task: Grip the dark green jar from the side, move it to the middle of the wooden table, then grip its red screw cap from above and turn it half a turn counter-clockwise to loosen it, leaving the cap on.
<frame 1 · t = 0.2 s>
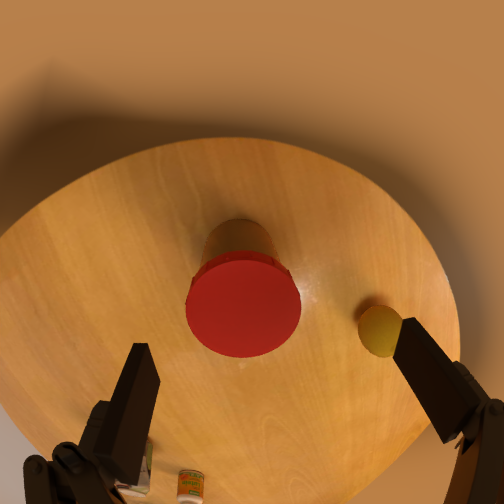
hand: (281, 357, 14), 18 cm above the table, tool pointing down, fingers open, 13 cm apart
jar: (239, 252, 31), on the table
cap: (243, 311, 20), point 12 cm above the table, screwed on, not yet turned
lemon: (368, 312, 35), on the table
beverage can: (139, 440, 42), on the table
supplement bottle: (191, 473, 48), on the table
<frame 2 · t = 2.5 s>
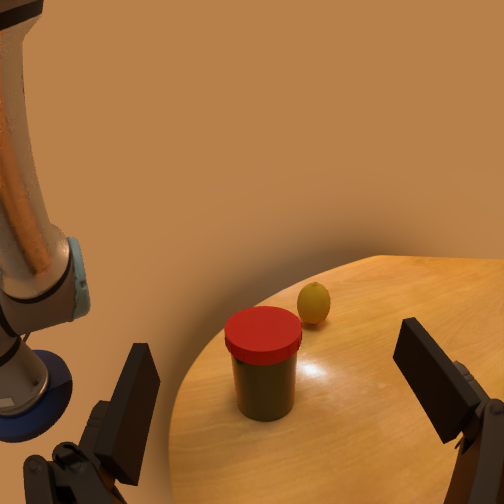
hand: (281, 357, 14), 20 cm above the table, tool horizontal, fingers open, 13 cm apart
jar: (265, 400, 34), on the table
cap: (263, 329, 29), point 12 cm above the table, screwed on, not yet turned
lemon: (312, 324, 49), on the table
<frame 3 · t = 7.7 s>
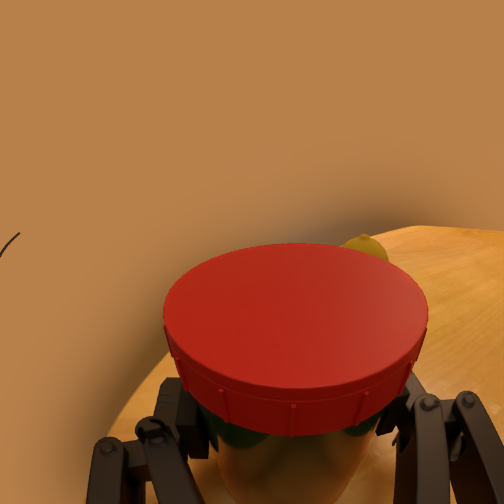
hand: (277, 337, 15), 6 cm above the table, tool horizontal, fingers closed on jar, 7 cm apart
jar: (287, 469, 13), on the table, touching gripper
cap: (297, 299, 9), point 12 cm above the table, screwed on, not yet turned
lemon: (356, 311, 28), on the table
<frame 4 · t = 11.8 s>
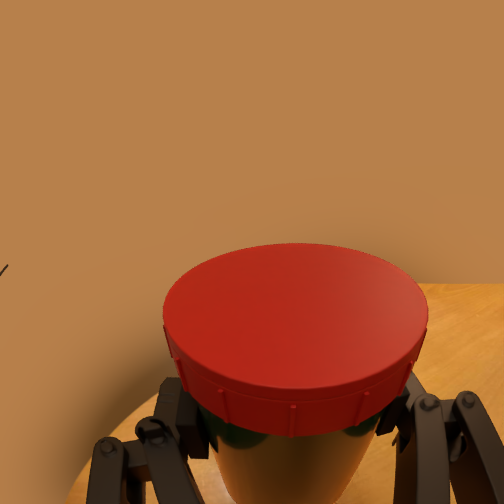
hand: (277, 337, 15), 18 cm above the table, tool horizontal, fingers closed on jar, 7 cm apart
jar: (287, 469, 13), point 11 cm above the table, touching gripper
cap: (297, 299, 9), point 23 cm above the table, screwed on, not yet turned
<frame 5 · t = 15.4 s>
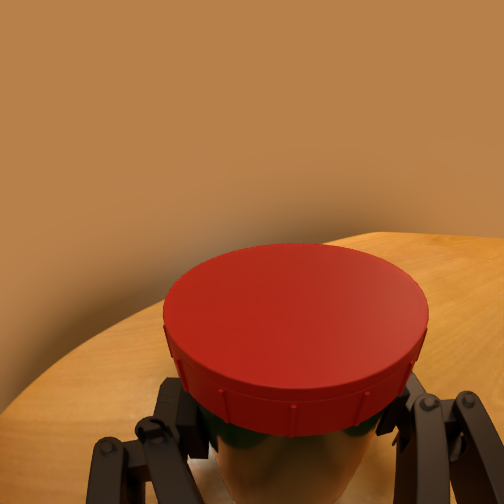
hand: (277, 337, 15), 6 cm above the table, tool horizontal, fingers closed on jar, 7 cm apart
jar: (287, 469, 13), on the table, touching gripper
cap: (297, 299, 9), point 12 cm above the table, screwed on, not yet turned
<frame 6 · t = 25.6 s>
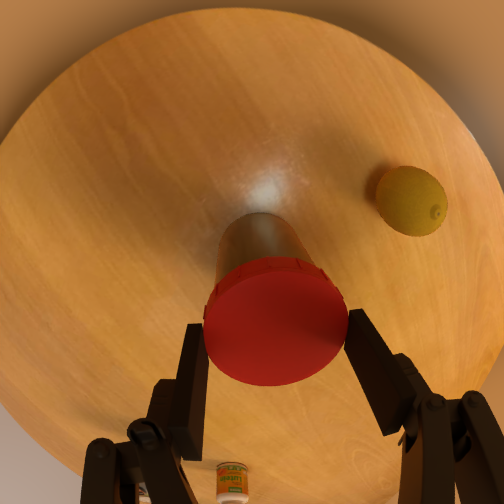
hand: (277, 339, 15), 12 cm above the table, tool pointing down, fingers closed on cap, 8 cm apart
jar: (259, 251, 26), on the table
cap: (277, 333, 15), point 12 cm above the table, screwed on, not yet turned, touching gripper
lemon: (386, 190, 25), on the table
supplement bottle: (231, 467, 42), on the table
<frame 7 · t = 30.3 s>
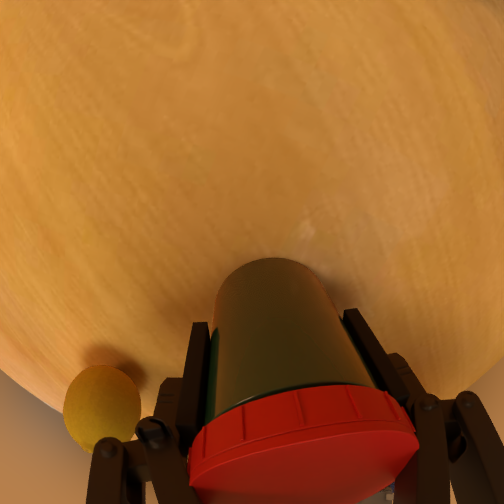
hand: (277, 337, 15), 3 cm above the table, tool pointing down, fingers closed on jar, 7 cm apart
jar: (271, 310, 18), on the table, touching gripper
cap: (307, 483, 7), point 12 cm above the table, turned 182° so far, risen 0.2 cm, still on its thread
lemon: (118, 369, 20), on the table
when the fingers open (3 cm above the table, at t = 30.3 s): jar stays where it is, on the table.
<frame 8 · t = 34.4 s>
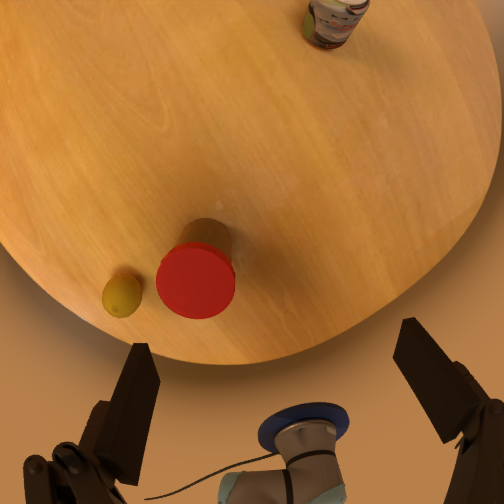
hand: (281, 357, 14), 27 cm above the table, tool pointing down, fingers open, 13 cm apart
jar: (205, 243, 39), on the table
cap: (195, 284, 28), point 12 cm above the table, turned 182° so far, risen 0.2 cm, still on its thread
lemon: (131, 281, 41), on the table
beverage can: (319, 29, 30), on the table
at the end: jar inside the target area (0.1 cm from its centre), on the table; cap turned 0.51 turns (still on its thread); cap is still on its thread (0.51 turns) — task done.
